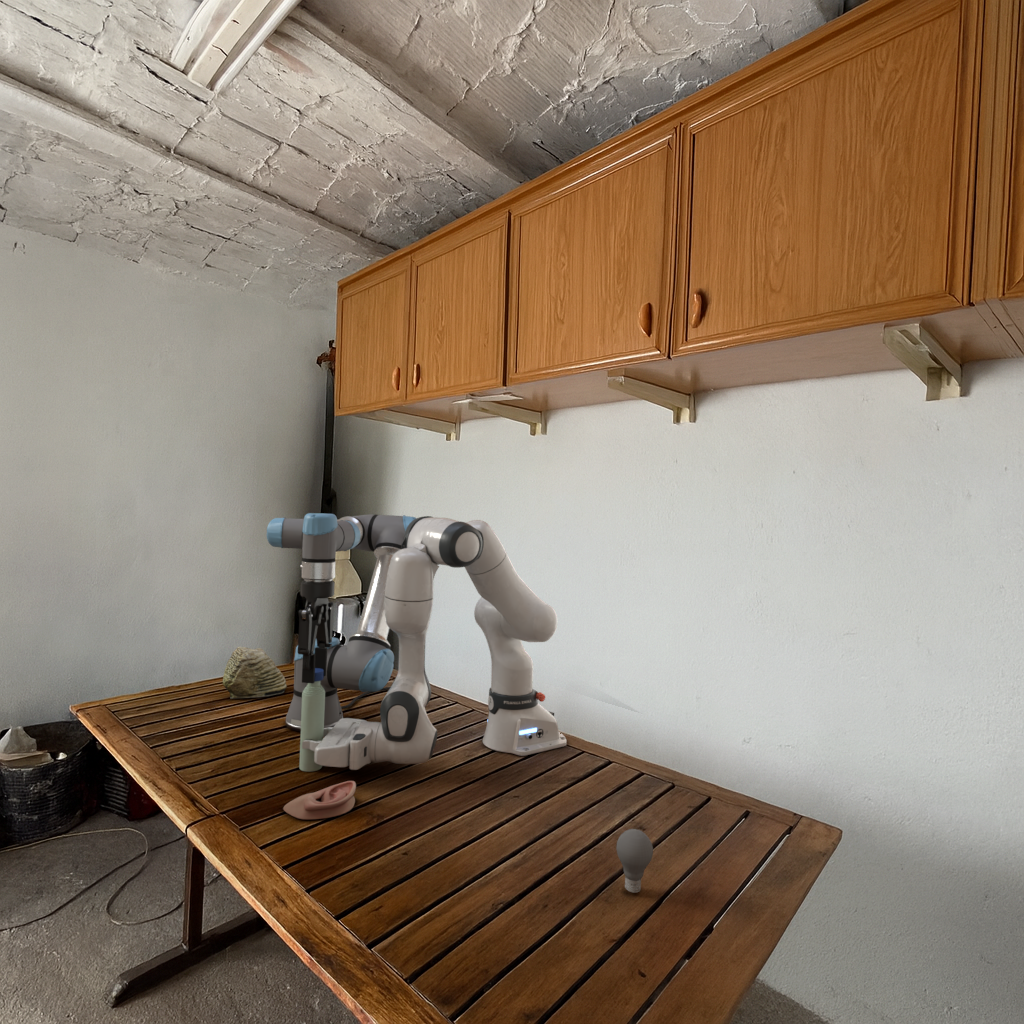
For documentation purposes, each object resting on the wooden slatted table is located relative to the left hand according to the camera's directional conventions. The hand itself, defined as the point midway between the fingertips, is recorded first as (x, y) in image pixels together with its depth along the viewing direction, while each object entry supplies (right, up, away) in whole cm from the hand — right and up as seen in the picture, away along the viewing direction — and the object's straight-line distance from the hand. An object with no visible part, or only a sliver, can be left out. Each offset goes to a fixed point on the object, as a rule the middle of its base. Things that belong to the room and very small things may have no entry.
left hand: (314, 678), depth 148 cm
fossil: (-34, -18, +50) cm, 64 cm away
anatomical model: (+7, -22, -18) cm, 29 cm away
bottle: (-1, -21, 0) cm, 21 cm away
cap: (0, +2, 0) cm, 2 cm away
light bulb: (+66, -25, -42) cm, 82 cm away
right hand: (-1, -14, 0) cm, 14 cm away
